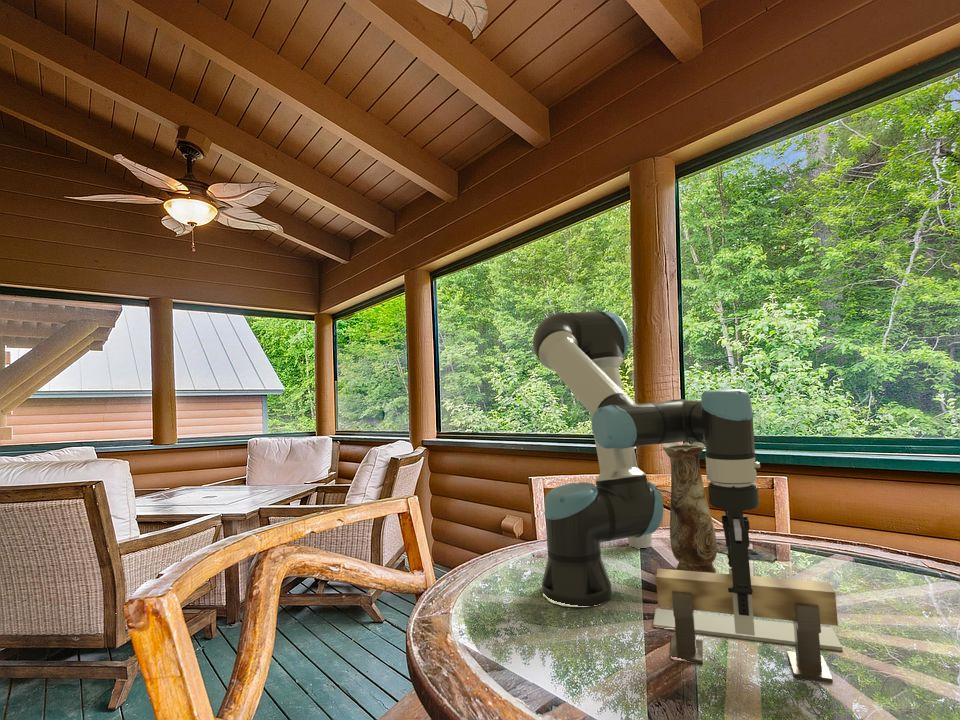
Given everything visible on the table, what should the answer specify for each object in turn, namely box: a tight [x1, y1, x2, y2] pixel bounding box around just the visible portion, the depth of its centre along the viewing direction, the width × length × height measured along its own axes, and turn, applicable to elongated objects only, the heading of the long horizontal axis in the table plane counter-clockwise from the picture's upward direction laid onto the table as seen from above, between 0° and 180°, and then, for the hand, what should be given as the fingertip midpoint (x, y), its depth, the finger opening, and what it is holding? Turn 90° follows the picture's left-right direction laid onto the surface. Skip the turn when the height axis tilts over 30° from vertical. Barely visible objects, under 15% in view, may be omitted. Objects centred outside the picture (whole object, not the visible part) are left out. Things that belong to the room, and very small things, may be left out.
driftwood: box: [717, 541, 778, 564], centre depth 136 cm, size 21×7×2 cm, turn 33°
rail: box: [655, 568, 839, 627], centre depth 86 cm, size 26×4×5 cm, turn 67°
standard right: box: [786, 603, 834, 684], centre depth 83 cm, size 5×7×11 cm
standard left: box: [669, 591, 704, 665], centre depth 90 cm, size 5×7×11 cm
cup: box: [627, 533, 653, 549], centre depth 145 cm, size 8×8×12 cm
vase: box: [661, 441, 718, 573], centre depth 125 cm, size 10×11×30 cm
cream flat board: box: [652, 608, 843, 652], centre depth 96 cm, size 30×7×1 cm, turn 67°
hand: (742, 619), depth 86 cm, fingers open, 9 cm apart
